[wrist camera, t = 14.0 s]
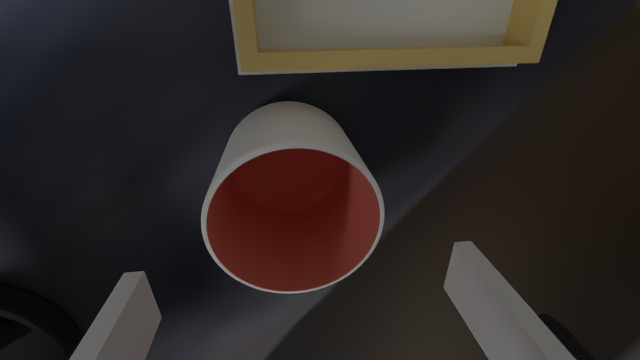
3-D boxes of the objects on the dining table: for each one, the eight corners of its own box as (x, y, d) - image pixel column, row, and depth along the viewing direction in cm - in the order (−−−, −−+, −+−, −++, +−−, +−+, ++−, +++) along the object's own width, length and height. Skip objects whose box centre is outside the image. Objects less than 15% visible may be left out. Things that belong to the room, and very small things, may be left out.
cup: (203, 170, 25) (164, 250, 16) (274, 69, 22) (273, 98, 13) (300, 225, 28) (311, 315, 20) (371, 145, 26) (421, 208, 17)
